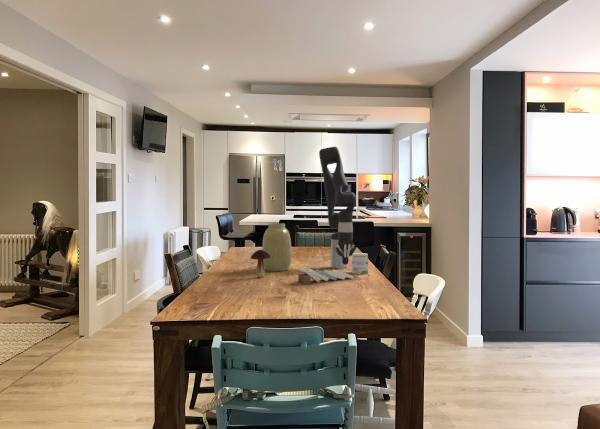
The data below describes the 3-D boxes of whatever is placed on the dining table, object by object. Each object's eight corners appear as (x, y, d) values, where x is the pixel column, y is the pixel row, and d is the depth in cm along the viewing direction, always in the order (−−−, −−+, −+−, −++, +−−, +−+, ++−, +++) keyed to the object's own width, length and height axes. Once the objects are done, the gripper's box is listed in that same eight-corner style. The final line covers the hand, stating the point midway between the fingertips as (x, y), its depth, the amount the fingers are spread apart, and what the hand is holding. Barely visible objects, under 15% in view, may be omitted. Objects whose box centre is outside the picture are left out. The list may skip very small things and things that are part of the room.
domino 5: (347, 277, 234) (332, 272, 230) (348, 274, 234) (333, 269, 230) (352, 279, 230) (336, 273, 226) (353, 276, 230) (337, 270, 226)
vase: (297, 268, 266) (297, 223, 264) (280, 273, 251) (280, 225, 250) (273, 266, 275) (273, 222, 273) (256, 270, 260) (256, 224, 259)
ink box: (367, 273, 249) (367, 252, 249) (368, 275, 244) (368, 254, 244) (352, 273, 250) (352, 252, 250) (352, 275, 245) (352, 253, 245)
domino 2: (322, 279, 228) (307, 271, 224) (323, 276, 228) (308, 268, 224) (327, 281, 223) (311, 273, 220) (328, 278, 224) (313, 270, 220)
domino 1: (313, 280, 226) (299, 269, 222) (315, 277, 226) (301, 267, 223) (318, 282, 221) (304, 271, 218) (320, 279, 222) (306, 268, 218)
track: (293, 283, 224) (293, 273, 224) (353, 277, 239) (353, 268, 238) (302, 287, 215) (302, 277, 215) (363, 281, 230) (363, 271, 229)
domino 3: (331, 278, 230) (315, 272, 226) (332, 276, 230) (316, 269, 226) (335, 280, 226) (319, 273, 222) (336, 277, 226) (321, 270, 222)
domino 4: (339, 278, 232) (323, 272, 228) (340, 275, 232) (324, 269, 228) (344, 279, 228) (328, 274, 223) (345, 276, 228) (329, 271, 224)
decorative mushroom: (254, 280, 232) (254, 251, 231) (247, 276, 242) (247, 249, 241) (273, 278, 236) (273, 250, 235) (266, 274, 246) (266, 247, 245)
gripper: (337, 232, 223) (337, 266, 224) (360, 231, 229) (360, 264, 230) (330, 230, 230) (330, 264, 231) (352, 229, 235) (352, 262, 236)
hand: (345, 264), depth 230 cm, fingers closed
